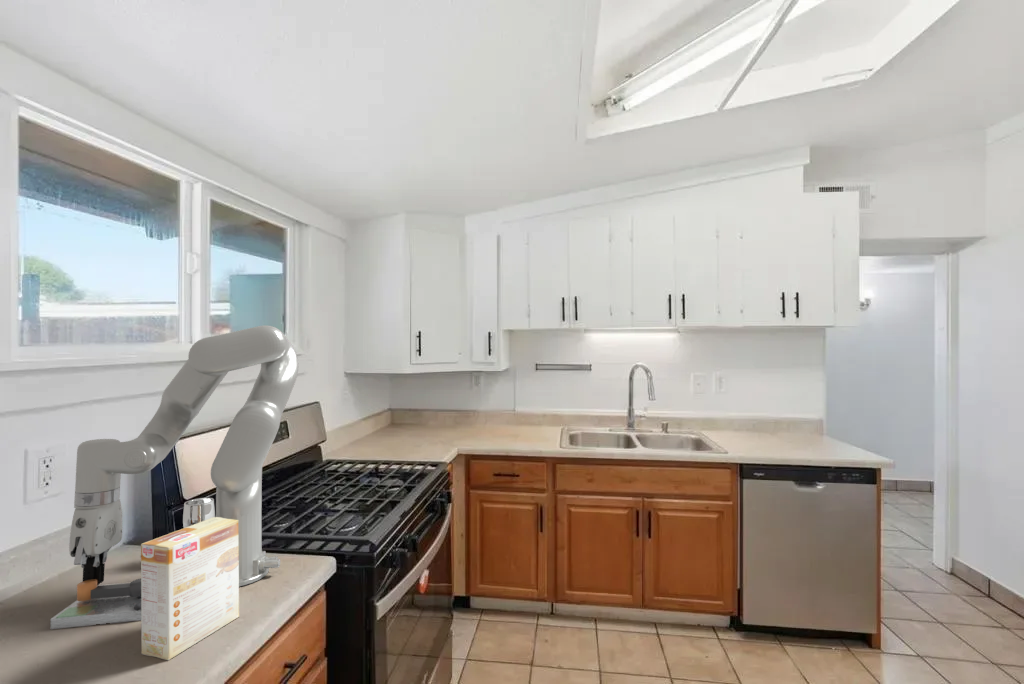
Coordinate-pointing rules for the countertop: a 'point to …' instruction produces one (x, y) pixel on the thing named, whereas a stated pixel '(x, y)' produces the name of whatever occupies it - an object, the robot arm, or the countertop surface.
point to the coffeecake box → (188, 586)
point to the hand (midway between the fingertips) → (93, 583)
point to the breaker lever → (107, 590)
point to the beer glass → (198, 511)
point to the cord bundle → (137, 606)
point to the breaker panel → (98, 612)
